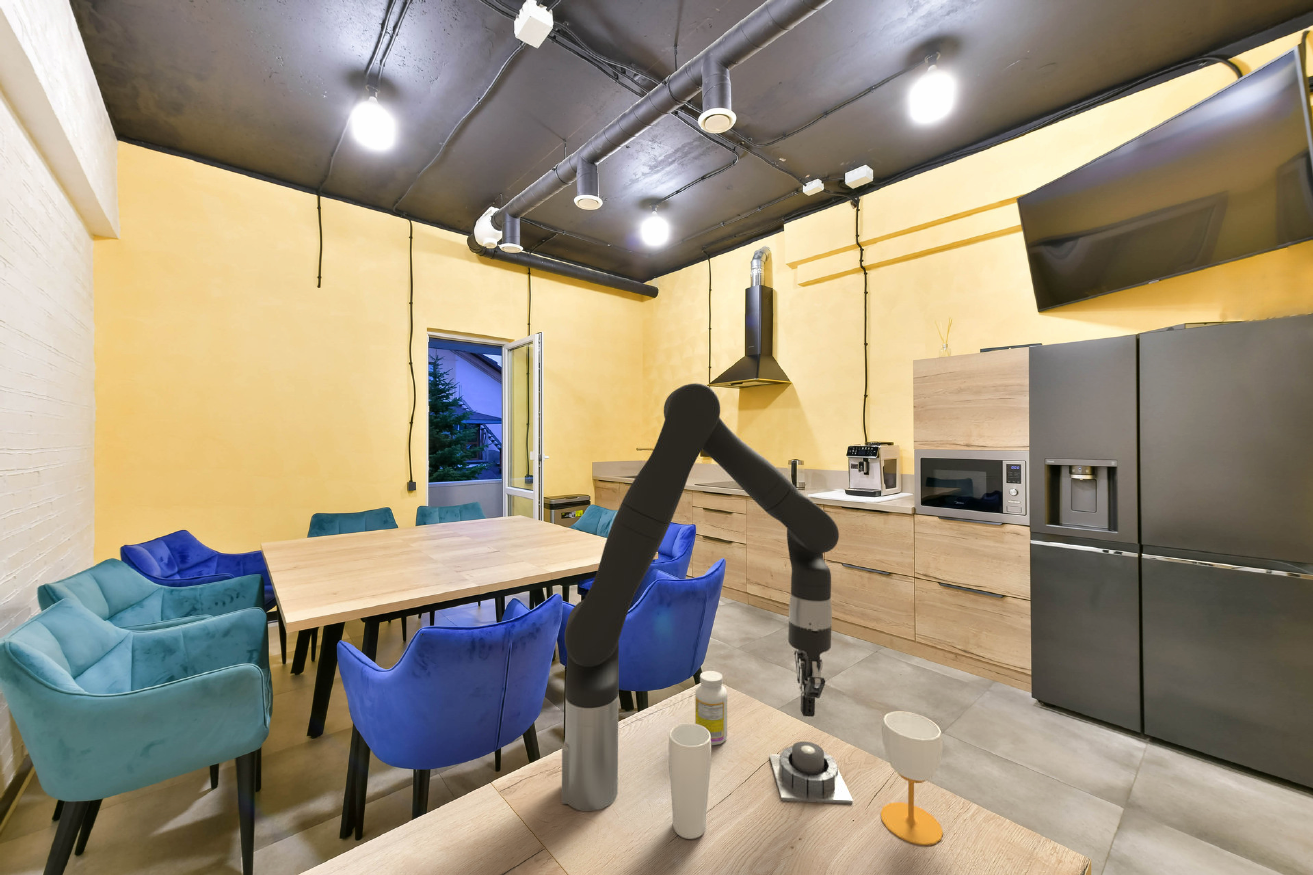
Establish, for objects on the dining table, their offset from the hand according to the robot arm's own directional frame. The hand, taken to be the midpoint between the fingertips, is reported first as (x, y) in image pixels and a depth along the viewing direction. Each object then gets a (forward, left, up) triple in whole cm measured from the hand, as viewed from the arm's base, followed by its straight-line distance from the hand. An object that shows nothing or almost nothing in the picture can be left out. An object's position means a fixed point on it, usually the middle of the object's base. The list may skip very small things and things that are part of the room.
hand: (807, 714), depth 93 cm
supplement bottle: (-17, +12, -12) cm, 24 cm away
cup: (+14, -10, -12) cm, 21 cm away
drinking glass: (-22, -13, -12) cm, 28 cm away
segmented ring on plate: (0, 0, -12) cm, 12 cm away
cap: (0, 0, -11) cm, 11 cm away
